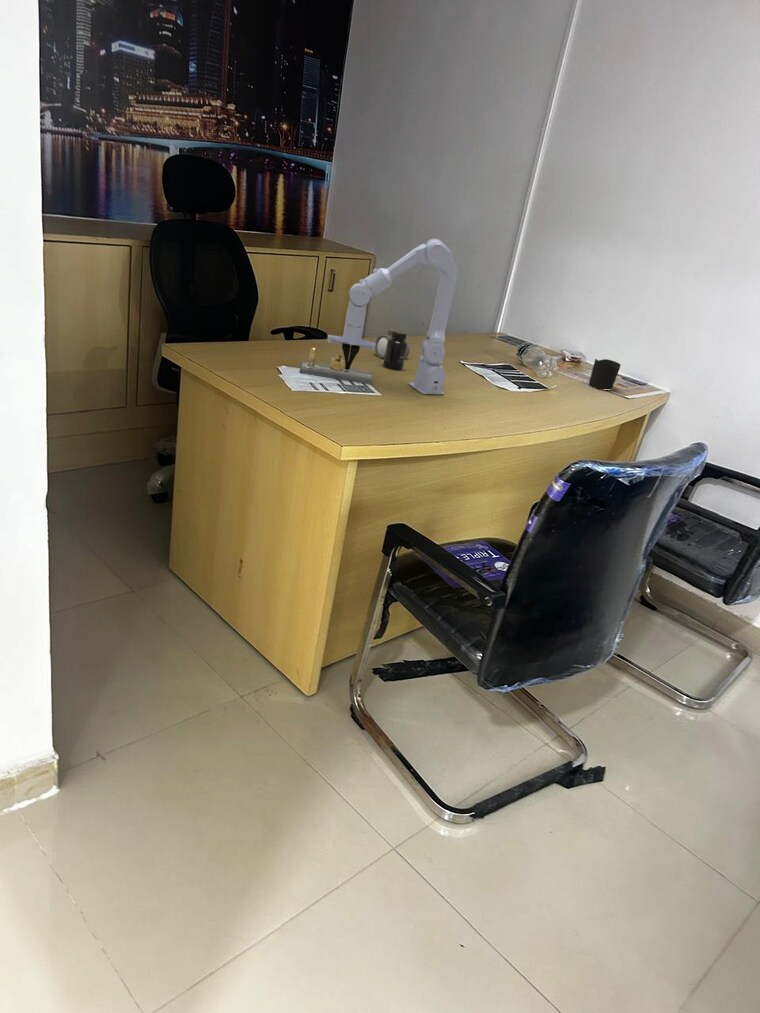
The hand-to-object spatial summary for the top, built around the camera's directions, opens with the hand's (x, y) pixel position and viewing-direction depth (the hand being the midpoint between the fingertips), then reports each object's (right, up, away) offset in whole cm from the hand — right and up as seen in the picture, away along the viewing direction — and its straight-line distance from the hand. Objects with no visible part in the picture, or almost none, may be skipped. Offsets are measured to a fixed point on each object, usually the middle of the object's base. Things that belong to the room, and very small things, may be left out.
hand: (347, 368), depth 223 cm
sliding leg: (-3, -1, -1) cm, 4 cm away
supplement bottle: (+14, +4, +21) cm, 26 cm away
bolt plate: (-3, -1, +1) cm, 4 cm away
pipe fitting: (+14, +10, +33) cm, 37 cm away
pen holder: (+93, +2, +50) cm, 106 cm away
